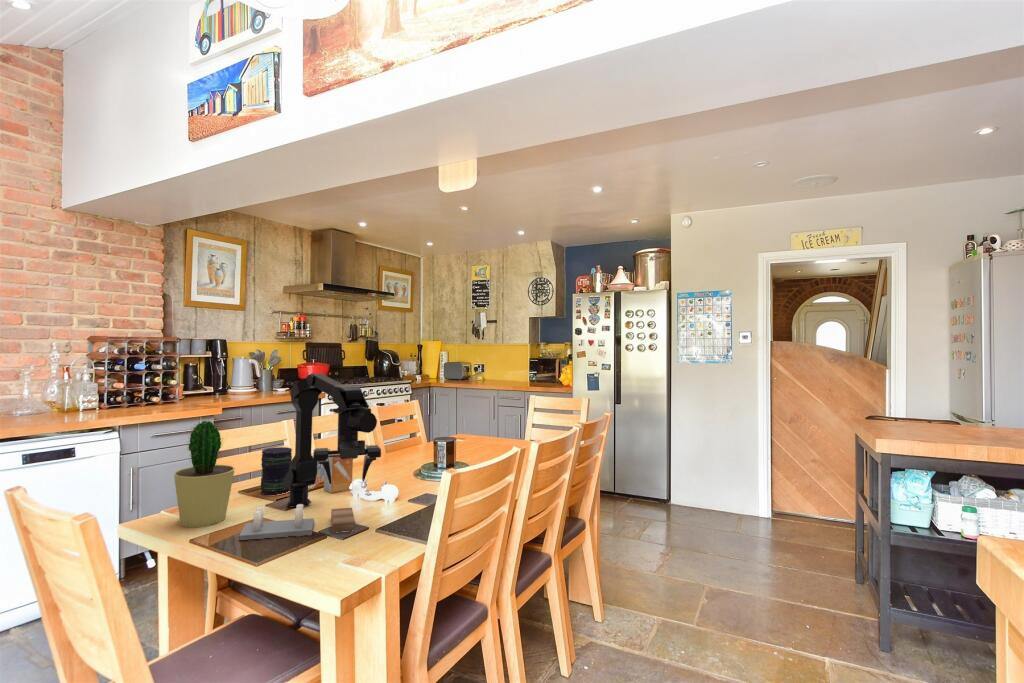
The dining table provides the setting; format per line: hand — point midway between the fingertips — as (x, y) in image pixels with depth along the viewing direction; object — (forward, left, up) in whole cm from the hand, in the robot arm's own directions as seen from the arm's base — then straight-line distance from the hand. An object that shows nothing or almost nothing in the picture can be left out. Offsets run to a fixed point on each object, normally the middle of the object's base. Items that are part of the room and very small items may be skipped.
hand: (346, 482), depth 148 cm
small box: (-38, -3, -13) cm, 40 cm away
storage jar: (-40, -24, -13) cm, 48 cm away
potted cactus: (-13, -40, -13) cm, 44 cm away
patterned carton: (-53, -10, -13) cm, 56 cm away
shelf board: (0, -1, -13) cm, 13 cm away
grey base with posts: (+2, -18, -12) cm, 22 cm away
